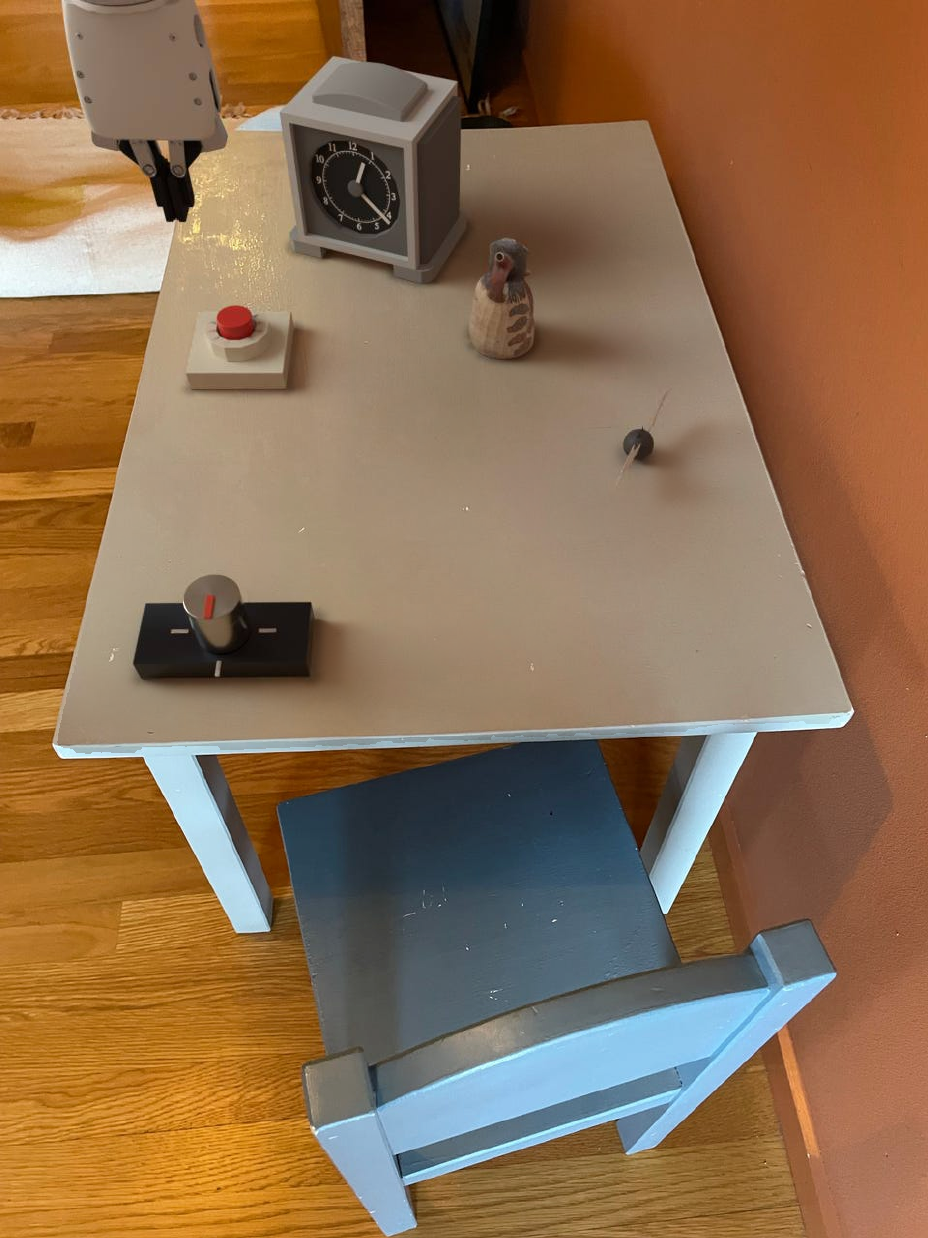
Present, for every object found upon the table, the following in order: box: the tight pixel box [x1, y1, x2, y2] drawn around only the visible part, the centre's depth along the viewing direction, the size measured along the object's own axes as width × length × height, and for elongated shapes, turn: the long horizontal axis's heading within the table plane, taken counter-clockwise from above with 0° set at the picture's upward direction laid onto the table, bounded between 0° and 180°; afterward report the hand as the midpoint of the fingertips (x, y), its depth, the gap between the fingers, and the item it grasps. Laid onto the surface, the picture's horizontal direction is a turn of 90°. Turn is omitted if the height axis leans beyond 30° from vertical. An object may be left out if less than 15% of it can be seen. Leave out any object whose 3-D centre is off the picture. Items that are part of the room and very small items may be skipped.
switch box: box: [185, 306, 295, 390], centre depth 96 cm, size 10×10×4 cm
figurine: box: [468, 237, 536, 360], centre depth 95 cm, size 7×7×12 cm
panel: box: [132, 601, 316, 680], centre depth 76 cm, size 14×9×3 cm, turn 91°
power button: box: [217, 304, 255, 340], centre depth 94 cm, size 4×4×2 cm
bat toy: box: [615, 387, 672, 486], centre depth 89 cm, size 3×15×5 cm, turn 153°
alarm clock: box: [279, 55, 467, 284], centre depth 103 cm, size 18×13×18 cm
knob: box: [182, 574, 251, 654], centre depth 73 cm, size 4×4×5 cm
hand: (178, 212), depth 79 cm, fingers closed
